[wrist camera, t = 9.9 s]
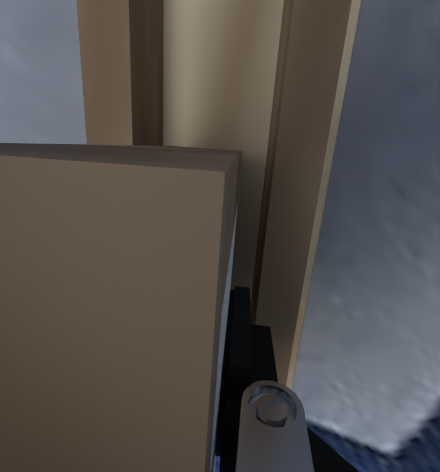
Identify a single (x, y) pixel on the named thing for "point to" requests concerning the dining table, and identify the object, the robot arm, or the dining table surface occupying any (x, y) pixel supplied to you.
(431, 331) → the dining table surface
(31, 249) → the walnut picture frame
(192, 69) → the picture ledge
